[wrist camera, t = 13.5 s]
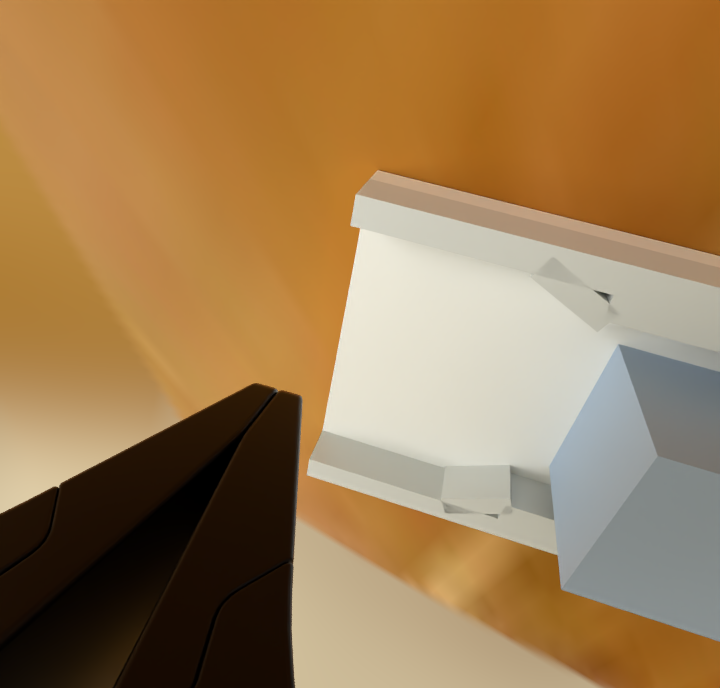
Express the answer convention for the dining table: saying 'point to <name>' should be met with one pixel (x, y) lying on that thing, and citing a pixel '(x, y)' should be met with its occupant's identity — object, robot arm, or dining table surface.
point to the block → (644, 492)
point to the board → (491, 347)
